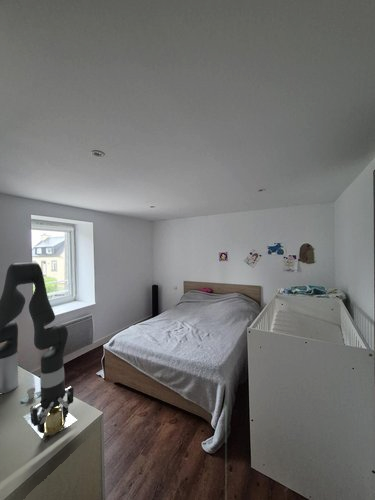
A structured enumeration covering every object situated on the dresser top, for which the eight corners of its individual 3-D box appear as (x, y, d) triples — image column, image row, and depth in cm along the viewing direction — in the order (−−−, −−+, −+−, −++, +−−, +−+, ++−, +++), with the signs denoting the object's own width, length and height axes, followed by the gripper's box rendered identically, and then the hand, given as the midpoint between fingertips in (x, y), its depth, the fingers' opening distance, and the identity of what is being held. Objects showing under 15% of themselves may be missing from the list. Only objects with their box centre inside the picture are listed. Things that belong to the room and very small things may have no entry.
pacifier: (21, 400, 93) (21, 407, 89) (20, 386, 94) (20, 393, 89) (40, 393, 98) (41, 399, 93) (40, 379, 98) (41, 385, 94)
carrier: (22, 419, 82) (22, 407, 82) (52, 402, 91) (52, 390, 91) (45, 445, 70) (45, 431, 70) (77, 422, 80) (76, 409, 80)
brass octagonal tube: (39, 429, 74) (38, 413, 74) (59, 416, 80) (59, 401, 80) (47, 438, 70) (47, 421, 71) (68, 423, 76) (68, 408, 76)
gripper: (67, 367, 83) (68, 407, 83) (25, 388, 71) (26, 434, 71) (77, 373, 79) (78, 415, 79) (34, 395, 67) (35, 445, 67)
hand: (54, 424), depth 75 cm, fingers closed on brass octagonal tube, 7 cm apart
